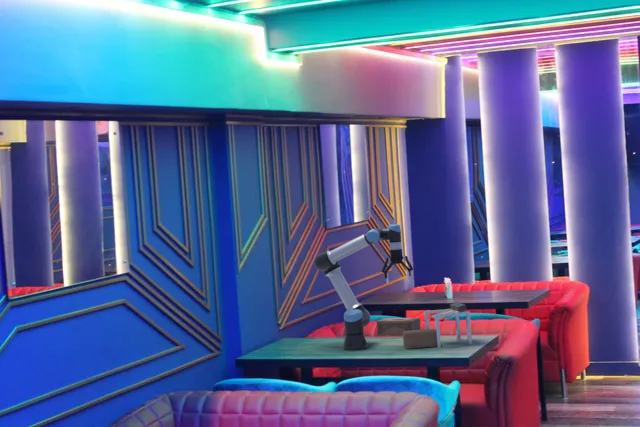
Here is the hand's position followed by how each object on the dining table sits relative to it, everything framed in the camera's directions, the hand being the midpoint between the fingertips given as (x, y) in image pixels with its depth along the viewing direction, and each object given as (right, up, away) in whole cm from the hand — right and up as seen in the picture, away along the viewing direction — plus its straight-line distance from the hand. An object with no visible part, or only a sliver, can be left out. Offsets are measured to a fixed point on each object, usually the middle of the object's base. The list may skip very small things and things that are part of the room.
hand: (398, 282), depth 601 cm
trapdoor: (+30, -19, -11) cm, 37 cm away
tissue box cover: (+4, -38, +44) cm, 59 cm away
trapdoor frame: (+30, -37, -11) cm, 49 cm away
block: (+22, -32, -16) cm, 42 cm away
